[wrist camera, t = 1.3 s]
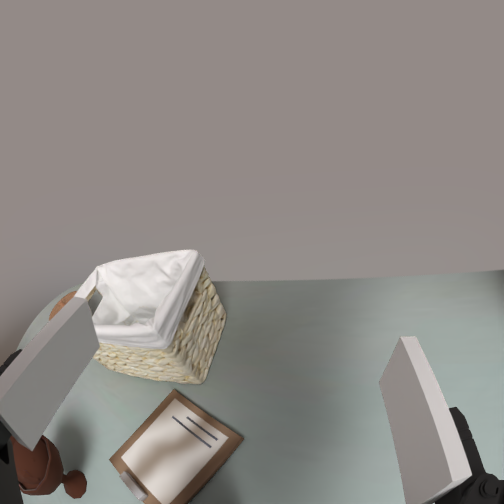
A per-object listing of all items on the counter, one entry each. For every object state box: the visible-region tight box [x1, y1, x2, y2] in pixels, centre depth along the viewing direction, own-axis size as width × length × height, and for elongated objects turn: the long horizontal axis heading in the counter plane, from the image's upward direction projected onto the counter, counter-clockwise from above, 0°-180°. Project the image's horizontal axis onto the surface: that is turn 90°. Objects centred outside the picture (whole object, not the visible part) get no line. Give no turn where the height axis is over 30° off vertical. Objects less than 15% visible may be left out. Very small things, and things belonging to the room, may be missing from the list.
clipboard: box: [109, 389, 244, 504], centre depth 30 cm, size 14×16×2 cm
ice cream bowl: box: [10, 435, 87, 499], centre depth 24 cm, size 11×11×15 cm
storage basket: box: [74, 250, 226, 384], centre depth 44 cm, size 24×16×15 cm
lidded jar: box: [49, 291, 92, 321], centre depth 59 cm, size 11×11×9 cm
